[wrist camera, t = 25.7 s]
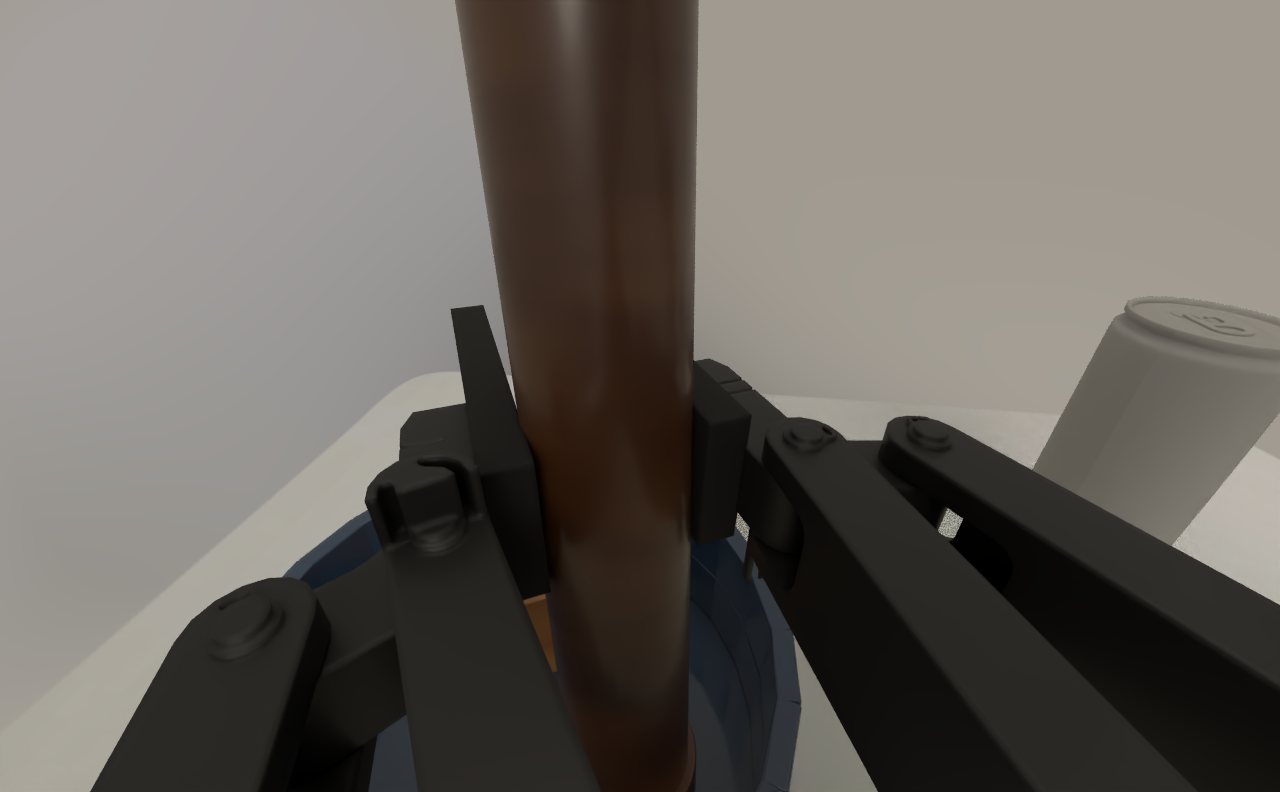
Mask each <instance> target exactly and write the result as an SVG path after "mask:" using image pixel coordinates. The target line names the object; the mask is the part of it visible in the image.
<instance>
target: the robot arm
mask: <svg viewBox="0 0 1280 792" xmlns="http://www.w3.org/2000/svg"><path fill="white" fill-rule="evenodd" d="M451 314H452V320H453V327H454V333H455V339H456V345H457V351H458V358H459V363H460V369H461V376H462V382H463V388H464V394H465V400H466V403H464V404H458V405H452V406H447V407H441V408H435V409H430V410H424V411H418V412H413V413H412V414H411V416H410V417H409V418H408V420H407V421H406V422H405V424H404V425H403V427H402V428H401V429H400V450H399V461H397V462H395V463H394V464H392V465H391V466H389V467H388V468H386V469H385V470H383V471H382V472H380V473H379V474H378V475H377V476H376V478H375V479H374V480H373V481H372V482H371V484H370V485H369V486H368V488H367V492H366V497H365V504H366V506H367V509H368V512H369V514H370V517H371V520H372V522H373V525H374V528H375V530H376V533H377V536H378V539H379V541H380V544H381V547H382V548H381V549H380V550H379V551H378V552H377V553H376V554H375V555H374V556H372V557H371V558H370V559H369V560H367V561H366V562H365V563H364V564H362V565H360V566H358V567H357V568H355V569H353V570H351V571H350V572H348V573H346V574H344V575H342V576H340V577H338V578H336V579H334V580H332V581H330V582H328V583H326V584H324V585H322V586H320V587H318V588H316V589H314V590H312V589H311V587H310V586H309V584H308V583H307V582H304V581H301V580H298V579H295V578H292V577H282V578H267V579H264V580H261V581H258V582H254V583H251V584H248V585H245V586H242V587H240V588H238V589H236V590H234V591H233V592H231V593H229V594H227V595H225V596H223V597H221V598H220V599H218V600H216V601H214V602H213V603H212V604H211V605H210V606H208V607H207V608H206V609H205V610H203V611H202V612H201V613H200V614H198V615H197V616H196V617H195V618H194V619H192V620H191V621H190V623H189V624H188V625H187V627H186V628H185V629H184V630H183V632H182V633H181V634H180V636H179V637H178V638H177V639H176V641H175V642H174V644H173V645H172V647H171V649H170V651H169V652H168V654H167V656H166V658H165V660H164V661H163V663H162V665H161V667H160V668H159V670H158V672H157V674H156V676H155V677H154V679H153V681H152V683H151V684H150V686H149V688H148V690H147V692H146V693H145V695H144V697H143V699H142V700H141V702H140V704H139V706H138V708H137V709H136V711H135V713H134V715H133V716H132V718H131V720H130V722H129V724H128V725H127V727H126V729H125V731H124V732H123V734H122V736H121V738H120V740H119V741H118V743H117V745H116V747H115V748H114V750H113V752H112V754H111V756H110V757H109V759H108V761H107V763H106V764H105V766H104V768H103V770H102V772H101V773H100V775H99V777H98V779H97V780H96V782H95V784H94V786H93V788H92V789H91V791H90V792H368V791H369V785H370V779H371V773H372V766H373V760H374V754H375V748H376V742H377V735H378V734H379V733H381V732H382V731H384V730H385V729H386V728H388V727H389V726H391V725H392V724H394V723H395V722H397V721H398V720H400V719H401V718H402V717H404V716H405V715H407V720H408V727H409V734H410V741H411V748H412V754H413V761H414V768H415V775H416V782H417V789H418V792H601V790H600V787H599V785H598V782H597V780H596V777H595V775H594V772H593V770H592V768H591V765H590V763H589V760H588V758H587V755H586V753H585V750H584V748H583V746H582V743H581V741H580V738H579V736H578V733H577V731H576V728H575V726H574V724H573V721H572V719H571V716H570V714H569V711H568V709H567V706H566V704H565V702H564V699H563V697H562V694H561V692H560V689H559V687H558V684H557V682H556V680H555V677H554V675H553V672H552V670H551V667H550V665H549V662H548V660H547V658H546V655H545V653H544V650H543V648H542V645H541V643H540V640H539V638H538V636H537V633H536V631H535V628H534V626H533V623H532V621H531V618H530V616H529V614H528V611H527V609H526V606H525V604H524V601H523V600H526V599H530V598H533V597H536V596H539V595H543V594H546V593H549V592H551V588H550V580H549V573H548V565H547V557H546V549H545V542H544V534H543V526H542V519H541V511H540V503H539V495H538V488H537V480H536V472H535V465H534V461H533V458H532V455H531V452H530V448H529V445H528V442H527V439H526V436H525V433H524V432H523V431H522V428H521V426H520V424H519V418H518V412H517V408H516V405H515V402H514V399H513V396H512V393H511V390H510V387H509V384H508V380H507V377H506V374H505V371H504V368H503V366H502V362H501V359H500V356H499V353H498V350H497V347H496V343H495V341H494V338H493V334H492V331H491V328H490V325H489V322H488V319H487V316H486V313H485V309H484V306H483V305H480V306H472V307H463V308H455V309H451ZM947 509H950V510H951V511H953V512H954V513H956V514H957V515H959V516H960V517H962V518H963V521H962V523H961V525H960V527H959V529H958V531H957V533H956V536H955V537H954V538H949V537H945V536H943V535H941V534H940V533H939V532H938V529H939V527H940V525H941V522H942V520H943V518H944V516H945V513H946V511H947ZM737 512H738V513H739V515H740V516H741V517H742V519H743V520H744V521H745V522H746V524H747V525H748V526H749V528H750V529H749V535H748V541H747V547H746V553H745V559H744V565H743V570H742V572H743V576H744V580H745V582H748V581H751V576H752V570H753V565H754V562H755V564H756V566H757V568H758V579H764V581H765V583H766V584H767V586H768V588H769V590H770V592H771V594H772V596H773V597H774V599H775V601H776V603H777V605H778V607H779V609H780V610H781V612H782V614H783V616H784V618H785V620H786V622H787V623H788V625H789V627H790V629H791V631H792V633H793V635H794V636H795V638H796V640H797V642H798V644H799V646H800V648H801V649H802V651H803V653H804V655H805V657H806V659H807V661H808V662H809V664H810V666H811V668H812V670H813V672H814V674H815V675H816V677H817V679H818V681H819V683H820V685H821V687H822V688H823V690H824V692H825V694H826V696H827V698H828V700H829V701H830V703H831V705H832V707H833V709H834V711H835V713H836V714H837V716H838V718H839V720H840V722H841V724H842V726H843V727H844V729H845V731H846V733H847V735H848V737H849V739H850V741H851V742H852V744H853V746H854V748H855V750H856V752H857V754H858V755H859V757H860V759H861V761H862V763H863V765H864V767H865V768H866V770H867V772H868V774H869V776H870V778H871V780H872V781H873V783H874V785H875V787H876V789H877V791H878V792H1280V605H1279V604H1277V603H1275V602H1273V601H1271V600H1269V599H1268V598H1266V597H1264V596H1262V595H1260V594H1258V593H1257V592H1255V591H1253V590H1251V589H1249V588H1247V587H1246V586H1244V585H1242V584H1240V583H1238V582H1236V581H1235V580H1233V579H1231V578H1229V577H1227V576H1225V575H1224V574H1222V573H1220V572H1218V571H1216V570H1214V569H1213V568H1211V567H1209V566H1207V565H1205V564H1203V563H1202V562H1200V561H1198V560H1196V559H1194V558H1192V557H1191V556H1189V555H1187V554H1185V553H1183V552H1181V551H1180V550H1178V549H1176V548H1174V547H1172V546H1170V545H1168V544H1167V543H1165V542H1163V541H1161V540H1159V539H1157V538H1156V537H1154V536H1152V535H1150V534H1148V533H1146V532H1145V531H1143V530H1141V529H1139V528H1137V527H1135V526H1134V525H1132V524H1130V523H1128V522H1126V521H1124V520H1123V519H1121V518H1119V517H1117V516H1115V515H1113V514H1112V513H1110V512H1108V511H1106V510H1104V509H1102V508H1101V507H1099V506H1097V505H1095V504H1093V503H1091V502H1090V501H1088V500H1086V499H1084V498H1082V497H1080V496H1079V495H1077V494H1075V493H1073V492H1071V491H1069V490H1068V489H1066V488H1064V487H1062V486H1060V485H1058V484H1056V483H1055V482H1053V481H1051V480H1049V479H1047V478H1045V477H1044V476H1042V475H1040V474H1038V473H1036V472H1034V471H1033V470H1031V469H1029V468H1027V467H1025V466H1023V465H1022V464H1020V463H1018V462H1016V461H1014V460H1012V459H1011V458H1009V457H1007V456H1005V455H1003V454H1001V453H1000V452H998V451H996V450H994V449H992V448H990V447H989V446H987V445H985V444H983V443H981V442H979V441H978V440H976V439H974V438H972V437H970V436H968V435H967V434H965V433H963V432H961V431H959V430H957V429H956V428H954V427H951V426H949V425H947V424H945V423H942V422H940V421H937V420H933V419H929V418H927V417H922V416H903V417H897V418H894V419H893V420H891V421H890V422H888V424H887V427H886V430H885V434H884V437H883V440H881V441H847V440H846V439H845V438H844V437H843V436H842V435H841V434H840V433H839V432H837V431H836V430H834V429H833V428H832V427H830V426H828V425H826V424H824V423H821V422H819V421H816V420H812V419H806V418H801V417H795V418H787V417H786V416H785V415H784V414H782V413H781V412H780V411H779V410H778V409H777V408H776V407H774V406H773V405H772V404H771V403H770V402H769V401H767V400H766V399H765V398H764V397H763V396H762V395H760V394H759V393H758V392H757V391H756V390H752V387H751V386H750V385H749V384H748V383H746V382H745V381H744V380H743V381H742V379H741V377H740V376H738V375H737V374H736V373H735V372H734V371H732V370H731V369H730V368H729V367H728V366H725V365H723V364H721V363H718V362H716V361H714V360H711V359H704V360H698V361H694V360H693V423H692V494H691V536H692V538H693V539H694V541H695V542H696V544H697V546H698V547H699V546H702V545H705V544H708V543H712V542H715V541H718V540H721V539H725V538H728V537H731V536H734V532H735V525H736V518H737Z"/></svg>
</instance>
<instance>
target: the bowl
mask: <svg viewBox="0 0 1280 792" xmlns="http://www.w3.org/2000/svg"><path fill="white" fill-rule="evenodd" d="M746 547H747V541H746V540H745V539H744V537H743V536H742V535H741V533H740V532H739V531H738V529H737V528H736V527H735V532H734V536H731V537H728V538H725V539H721V540H718V541H715V542H712V543H708V544H705V545H702V546H699V547H698V546H697V544H696V542H695V541H694V539H693V538H692V536H691V565H690V636H689V707H688V722H689V724H690V726H691V729H692V731H693V735H694V739H695V745H696V787H695V792H789V789H790V782H791V776H792V769H793V762H794V756H795V749H796V742H797V736H798V729H799V722H800V715H801V694H800V686H799V678H798V670H797V662H796V653H795V645H794V637H793V633H792V631H791V629H790V627H789V625H788V623H787V622H786V620H785V618H784V616H783V614H782V612H781V610H780V609H779V607H778V605H777V603H776V601H775V599H774V597H773V596H772V594H771V592H770V590H769V588H768V586H767V584H766V583H765V581H764V579H758V568H757V566H756V564H755V562H754V565H753V570H752V576H751V581H748V582H745V580H744V576H743V572H742V570H743V565H744V559H745V553H746ZM381 548H382V547H381V544H380V541H379V539H378V536H377V533H376V530H375V528H374V525H373V522H372V520H371V517H370V514H369V512H368V510H367V511H365V512H363V513H362V514H360V515H358V516H356V517H354V518H353V519H352V520H350V521H349V522H347V523H346V524H345V525H343V526H342V527H341V528H340V529H338V530H337V531H336V532H334V533H333V534H332V535H331V536H329V537H328V538H327V539H325V540H324V541H323V542H321V543H320V544H319V545H318V546H316V547H315V548H314V549H312V550H311V551H310V552H309V553H307V554H306V555H305V556H303V557H302V558H301V559H300V560H299V561H297V562H296V563H295V564H294V565H293V566H292V567H291V568H290V569H289V570H288V571H287V572H286V573H285V575H284V576H283V577H292V578H295V579H298V580H301V581H304V582H307V583H308V584H309V586H310V587H311V589H312V590H314V589H316V588H318V587H320V586H322V585H324V584H326V583H328V582H330V581H332V580H334V579H336V578H338V577H340V576H342V575H344V574H346V573H348V572H350V571H351V570H353V569H355V568H357V567H358V566H360V565H362V564H364V563H365V562H366V561H367V560H369V559H370V558H371V557H372V556H374V555H375V554H376V553H377V552H378V551H379V550H380V549H381ZM553 675H554V677H555V680H556V682H557V684H558V687H559V682H558V676H557V671H556V672H553ZM368 792H418V789H417V782H416V775H415V768H414V761H413V754H412V748H411V741H410V734H409V727H408V720H407V715H405V716H404V717H402V718H401V719H400V720H398V721H397V722H395V723H394V724H392V725H391V726H389V727H388V728H386V729H385V730H384V731H382V732H381V733H379V734H378V735H377V742H376V748H375V754H374V760H373V766H372V773H371V779H370V785H369V791H368Z"/></svg>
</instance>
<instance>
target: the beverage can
mask: <svg viewBox="0 0 1280 792" xmlns="http://www.w3.org/2000/svg"><path fill="white" fill-rule="evenodd" d="M1124 310H1125V313H1123V314H1120V315H1118V316H1116V317H1115V318H1114V319H1113V321H1112V322H1111V324H1110V326H1109V327H1108V329H1107V331H1106V333H1105V335H1104V337H1103V338H1102V340H1101V342H1100V344H1099V346H1098V348H1097V350H1096V352H1095V353H1094V355H1093V357H1092V359H1091V361H1090V363H1089V365H1088V366H1087V368H1086V370H1085V372H1084V374H1083V376H1082V378H1081V380H1080V381H1079V384H1078V385H1077V387H1076V389H1075V391H1074V393H1073V395H1072V396H1071V398H1070V400H1069V402H1068V404H1067V406H1066V408H1065V410H1064V412H1063V413H1062V415H1061V417H1060V419H1059V421H1058V423H1057V425H1056V426H1055V428H1054V430H1053V432H1052V434H1051V436H1050V438H1049V440H1048V441H1047V443H1046V445H1045V447H1044V449H1043V451H1042V453H1041V455H1040V456H1039V458H1038V460H1037V462H1036V464H1035V466H1034V468H1033V469H1032V470H1033V471H1034V472H1036V473H1038V474H1040V475H1042V476H1044V477H1045V478H1047V479H1049V480H1051V481H1053V482H1055V483H1056V484H1058V485H1060V486H1062V487H1064V488H1066V489H1068V490H1069V491H1071V492H1073V493H1075V494H1077V495H1079V496H1080V497H1082V498H1084V499H1086V500H1088V501H1090V502H1091V503H1093V504H1095V505H1097V506H1099V507H1101V508H1102V509H1104V510H1106V511H1108V512H1110V513H1112V514H1113V515H1115V516H1117V517H1119V518H1121V519H1123V520H1124V521H1126V522H1128V523H1130V524H1132V525H1134V526H1135V527H1137V528H1139V529H1141V530H1143V531H1145V532H1146V533H1148V534H1150V535H1152V536H1154V537H1156V538H1157V539H1159V540H1161V541H1163V542H1165V543H1167V544H1168V545H1170V546H1172V544H1173V543H1174V542H1175V541H1176V540H1177V538H1178V537H1179V536H1180V535H1181V534H1182V532H1183V531H1184V530H1185V529H1186V528H1187V526H1188V525H1189V524H1190V523H1191V522H1192V520H1193V519H1194V518H1195V517H1196V516H1197V514H1198V513H1199V512H1200V511H1201V509H1202V508H1203V507H1204V506H1205V505H1206V503H1207V502H1208V501H1209V500H1210V499H1211V497H1212V496H1213V495H1214V494H1215V492H1216V491H1217V490H1218V489H1219V487H1220V486H1221V485H1222V484H1223V482H1224V481H1225V480H1226V479H1227V478H1228V476H1229V475H1230V474H1231V473H1232V471H1233V470H1234V469H1235V468H1236V466H1237V465H1238V464H1239V463H1240V461H1241V460H1242V459H1243V458H1244V456H1245V455H1246V454H1247V453H1248V451H1249V450H1250V449H1251V448H1252V446H1253V445H1254V444H1255V443H1256V441H1257V440H1258V439H1259V437H1260V436H1261V435H1262V434H1263V433H1264V431H1265V430H1266V429H1267V428H1268V426H1269V425H1270V424H1271V423H1272V422H1273V420H1274V419H1275V418H1276V417H1277V415H1278V414H1279V413H1280V318H1277V317H1274V316H1270V315H1267V314H1263V313H1259V312H1256V311H1252V310H1247V309H1243V308H1239V307H1234V306H1230V305H1224V304H1219V303H1214V302H1208V301H1201V300H1194V299H1186V298H1175V297H1153V296H1151V297H1139V298H1134V299H1131V300H1129V301H1128V302H1127V304H1126V306H1125V308H1124Z"/></svg>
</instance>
